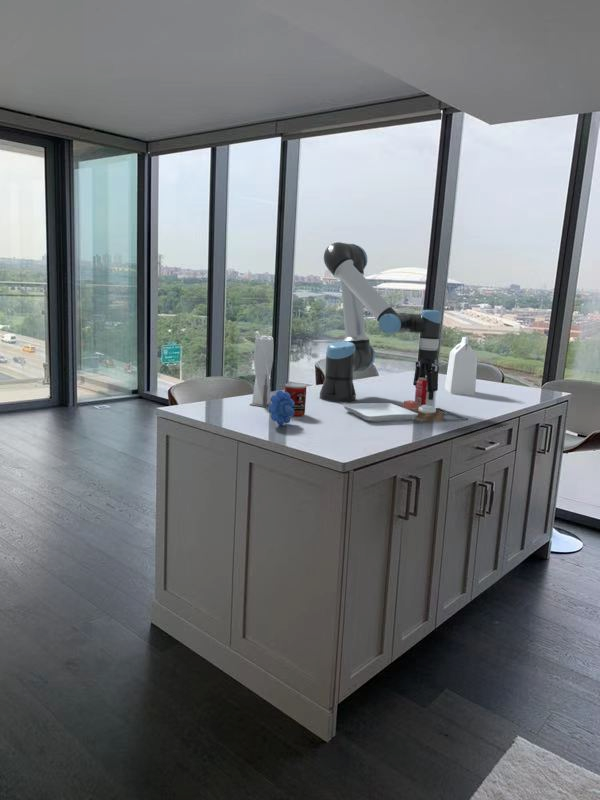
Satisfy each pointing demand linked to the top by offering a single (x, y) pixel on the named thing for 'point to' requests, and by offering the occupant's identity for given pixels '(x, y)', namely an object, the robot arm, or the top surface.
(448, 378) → the milk
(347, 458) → the top surface
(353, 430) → the top surface
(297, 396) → the canned food
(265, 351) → the skyscraper
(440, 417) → the base
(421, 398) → the soda can
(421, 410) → the dome
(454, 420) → the track
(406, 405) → the die
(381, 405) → the salad plate
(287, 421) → the grapes
